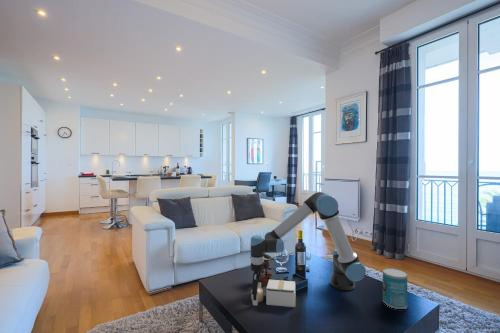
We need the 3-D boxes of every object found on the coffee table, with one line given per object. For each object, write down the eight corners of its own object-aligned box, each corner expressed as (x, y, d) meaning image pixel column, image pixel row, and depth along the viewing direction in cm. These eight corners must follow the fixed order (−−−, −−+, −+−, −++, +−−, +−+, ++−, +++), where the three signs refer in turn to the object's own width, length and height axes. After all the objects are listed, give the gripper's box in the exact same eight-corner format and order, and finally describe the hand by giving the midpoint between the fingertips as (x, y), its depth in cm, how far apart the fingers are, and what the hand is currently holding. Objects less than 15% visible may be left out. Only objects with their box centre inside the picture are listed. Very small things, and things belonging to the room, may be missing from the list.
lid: (295, 282, 153) (295, 281, 153) (294, 291, 141) (294, 290, 141) (269, 280, 156) (269, 279, 156) (266, 288, 144) (266, 287, 144)
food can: (378, 302, 146) (378, 270, 146) (391, 296, 151) (391, 266, 151) (398, 312, 135) (398, 278, 135) (412, 306, 141) (412, 274, 141)
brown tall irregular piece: (274, 279, 176) (274, 251, 174) (272, 288, 165) (272, 258, 163) (253, 277, 179) (252, 249, 177) (249, 285, 168) (249, 256, 166)
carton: (295, 296, 153) (295, 283, 153) (295, 307, 141) (295, 293, 141) (268, 294, 156) (268, 281, 156) (266, 304, 144) (266, 290, 144)
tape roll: (264, 296, 153) (263, 288, 153) (262, 302, 146) (262, 294, 146) (252, 295, 154) (252, 287, 154) (250, 301, 147) (250, 292, 147)
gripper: (254, 254, 163) (254, 288, 163) (246, 270, 138) (246, 309, 138) (266, 255, 161) (266, 289, 162) (260, 272, 137) (260, 311, 137)
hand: (257, 298), depth 150 cm, fingers open, 13 cm apart
